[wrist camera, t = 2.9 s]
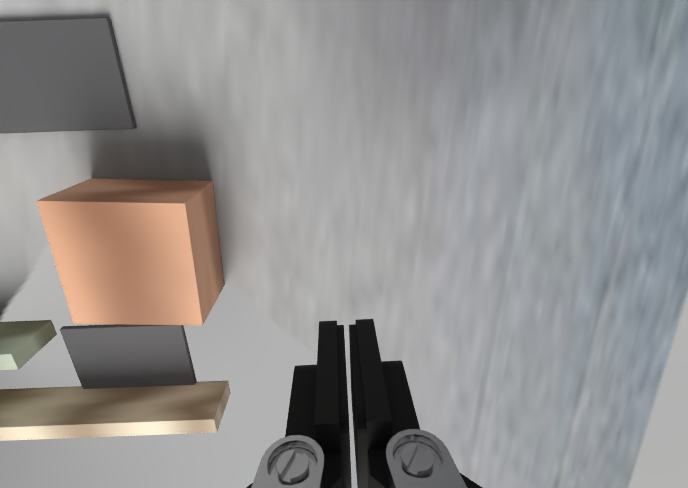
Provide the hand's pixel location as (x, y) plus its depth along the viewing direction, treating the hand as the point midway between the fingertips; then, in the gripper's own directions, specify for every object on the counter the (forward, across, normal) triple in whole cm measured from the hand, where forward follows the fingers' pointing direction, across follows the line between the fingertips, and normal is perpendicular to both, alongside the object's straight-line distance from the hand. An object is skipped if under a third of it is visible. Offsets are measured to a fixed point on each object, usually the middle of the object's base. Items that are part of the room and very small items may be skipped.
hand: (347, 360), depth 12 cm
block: (+10, +10, -1) cm, 14 cm away
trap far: (+10, +13, +7) cm, 18 cm away
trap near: (+10, +13, -9) cm, 18 cm away
